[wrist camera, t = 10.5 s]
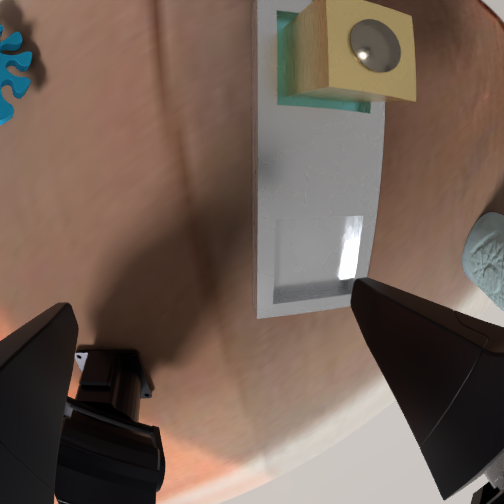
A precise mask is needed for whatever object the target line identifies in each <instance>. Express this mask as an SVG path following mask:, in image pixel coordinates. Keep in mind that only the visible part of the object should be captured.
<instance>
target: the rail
mask: <svg viewBox="0 0 504 504" xmlns="http://www.w3.org/2000/svg"><path fill="white" fill-rule="evenodd" d="M311 2H313V1H312V0H254V1H253V3H252V305H253V308H254V311H255V314H256V317H257V319H260V318H269V317H277V316H285V315H293V314H300V313H308V312H315V311H322V310H328V309H335V308H341V307H348V306H351V305H350V299H351V294H352V288H353V283H354V281H355V279H357V278H363V277H367V274H368V269H369V263H370V257H371V251H372V245H373V238H374V232H375V224H376V217H377V209H378V201H379V192H380V182H381V171H382V158H383V143H384V122H385V102H358V103H351V102H343V101H333V100H323V99H311V98H297V97H284V38H283V28H284V27H285V26H286V25H287V24H288V23H289V22H290V21H291V20H293V19H294V18H295V17H296V16H297V15H298V14H299V13H300V12H301V11H302V10H304V9H305V8H306V7H307V6H308V5H309V4H310V3H311Z"/></svg>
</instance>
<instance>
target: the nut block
mask: <svg viewBox="0 0 504 504" xmlns="http://www.w3.org/2000/svg"><path fill="white" fill-rule="evenodd" d="M283 38H284V97H297V98H311V99H323V100H333V101H343V102H351V103H358V102H416V66H415V47H414V34H413V24H412V16H410V15H407V14H404V13H402V12H399V11H396V10H393V9H390V8H387V7H384V6H381V5H378V4H375V3H371V2H368V1H364V0H314V1H313V2H311V3H310V4H309V5H308V6H307V7H306V8H305V9H304V10H302V11H301V12H300V13H299V14H298V15H297V16H296V17H295V18H294V19H293V20H291V21H290V22H289V23H288V24H287V25H286V26H285V27H284V28H283Z"/></svg>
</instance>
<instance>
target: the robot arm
mask: <svg viewBox="0 0 504 504" xmlns="http://www.w3.org/2000/svg"><path fill="white" fill-rule="evenodd" d="M350 305H351V308H352V311H353V313H354V315H355V318H356V320H357V322H358V325H359V327H360V330H361V332H362V334H363V337H364V339H365V341H366V343H367V345H368V347H369V349H370V351H371V353H372V355H373V357H374V358H375V360H376V362H377V364H378V366H379V368H380V370H381V372H382V373H383V375H384V377H385V379H386V381H387V383H388V385H389V387H390V389H391V391H392V393H393V394H394V396H395V398H396V400H397V402H398V404H399V406H400V408H401V410H402V412H403V414H404V416H405V418H406V420H407V422H408V424H409V426H410V428H411V430H412V432H413V435H414V437H415V439H416V441H417V443H418V445H419V447H420V449H421V452H422V454H423V456H424V458H425V460H426V462H427V465H428V467H429V469H430V471H431V473H432V476H433V478H434V480H435V482H436V485H437V487H438V489H439V492H440V494H441V496H442V498H443V500H446V499H447V498H449V497H451V496H452V495H454V494H455V493H457V492H458V491H460V490H462V489H463V488H464V487H466V486H467V485H469V484H470V483H472V482H473V481H474V480H476V479H477V478H478V477H480V476H481V475H482V474H485V475H486V477H487V479H488V480H489V482H488V483H487V484H485V485H484V486H483V487H482V488H480V489H479V490H478V491H477V492H475V493H474V494H473V497H472V501H471V504H504V327H501V326H498V325H495V324H491V323H488V322H485V321H482V320H479V319H477V318H474V317H471V316H468V315H466V314H463V313H460V312H458V311H453V310H452V309H450V308H447V307H445V306H442V305H439V304H437V303H434V302H432V301H429V300H426V299H424V298H421V297H418V296H416V295H413V294H411V293H408V292H405V291H403V290H400V289H397V288H395V287H392V286H389V285H387V284H384V283H381V282H379V281H376V280H373V279H370V278H368V277H363V278H357V279H355V281H354V283H353V288H352V294H351V299H350ZM77 337H78V323H77V321H76V318H75V315H74V312H73V309H72V306H71V305H70V304H69V303H67V302H65V303H57V304H55V305H54V306H52V307H51V308H49V309H47V310H46V311H44V312H43V313H41V314H40V315H38V316H37V317H35V318H34V319H32V320H31V321H29V322H28V323H26V324H25V325H23V326H22V327H20V328H19V329H17V330H16V331H14V332H13V333H11V334H10V335H8V336H7V337H6V338H4V339H3V340H1V341H0V504H54V494H55V496H56V499H57V501H58V503H59V504H156V492H158V491H159V490H160V488H161V486H162V484H163V480H164V475H165V457H164V452H163V446H162V441H161V436H160V430H159V427H156V426H149V425H146V424H142V423H139V422H138V420H139V409H140V398H151V397H152V391H151V388H150V385H149V383H148V380H147V377H146V374H145V371H144V368H143V364H142V361H141V358H140V355H139V353H138V351H136V350H77V351H76V344H77ZM75 351H76V352H75ZM79 355H80V356H79ZM133 355H135V356H133ZM74 358H75V359H76V361H77V363H78V365H79V367H80V370H81V372H82V374H81V377H80V380H79V387H78V390H77V394H76V397H75V399H73V398H71V397H68V390H69V385H70V381H71V376H72V372H73V365H74Z"/></svg>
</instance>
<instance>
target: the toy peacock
mask: <svg viewBox="0 0 504 504" xmlns="http://www.w3.org/2000/svg"><path fill="white" fill-rule="evenodd" d="M3 28H4V27H3V26H2V25H0V36H1V35H2V31H3ZM22 41H23V40H22V36H21V34H20V33H19V32H14V33H12V34H11V35H10V36H9V37H8V38H7V39H5V40H4V41H2V42H0V125H2V124H4V123H6V122H7V121H9V120H10V119H11V118H12V117H13V113H14V108H13V106H12V105H11V104H9V103H8V102H6V101H5V99H4V98H3V96H2V93H1V88H2V87H3V86H5V85H9V86H11V87H12V91H13V95H14V96H15V97H16V98H19V99H21V98H22V97H23V96H24V94H25V93H26V91H27V90H28V88H29V85H30V82H31V81H30V79H29V78H27V77H17V76H14V75H12V74H11V73H10V72H9V71H8V70H7V69H6V68H7V67H8V66H15V67H16V68H17V69H18V70H19V71H22V72H23V71H27V70H28V68H29V66H30V63H31V60H32V52H29V51H26V52H23V53H21V54H18V55H6V54H2V53H1V51H3V50H10V51H15V50H18V49H19V48H20V47H21V44H22Z"/></svg>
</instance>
